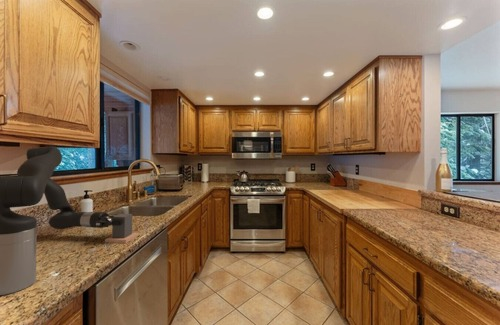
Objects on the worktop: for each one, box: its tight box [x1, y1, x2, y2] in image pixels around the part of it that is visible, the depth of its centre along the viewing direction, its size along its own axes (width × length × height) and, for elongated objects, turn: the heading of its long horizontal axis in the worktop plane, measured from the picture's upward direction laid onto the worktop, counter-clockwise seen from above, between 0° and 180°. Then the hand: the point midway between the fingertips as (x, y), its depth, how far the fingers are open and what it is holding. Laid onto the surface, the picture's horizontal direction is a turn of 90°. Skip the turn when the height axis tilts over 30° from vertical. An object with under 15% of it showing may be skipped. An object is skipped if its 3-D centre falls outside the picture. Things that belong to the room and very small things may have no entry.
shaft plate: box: [104, 232, 139, 244], centre depth 104 cm, size 10×10×10 cm
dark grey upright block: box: [111, 213, 133, 238], centre depth 104 cm, size 6×6×10 cm
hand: (126, 220), depth 104 cm, fingers open, 8 cm apart
